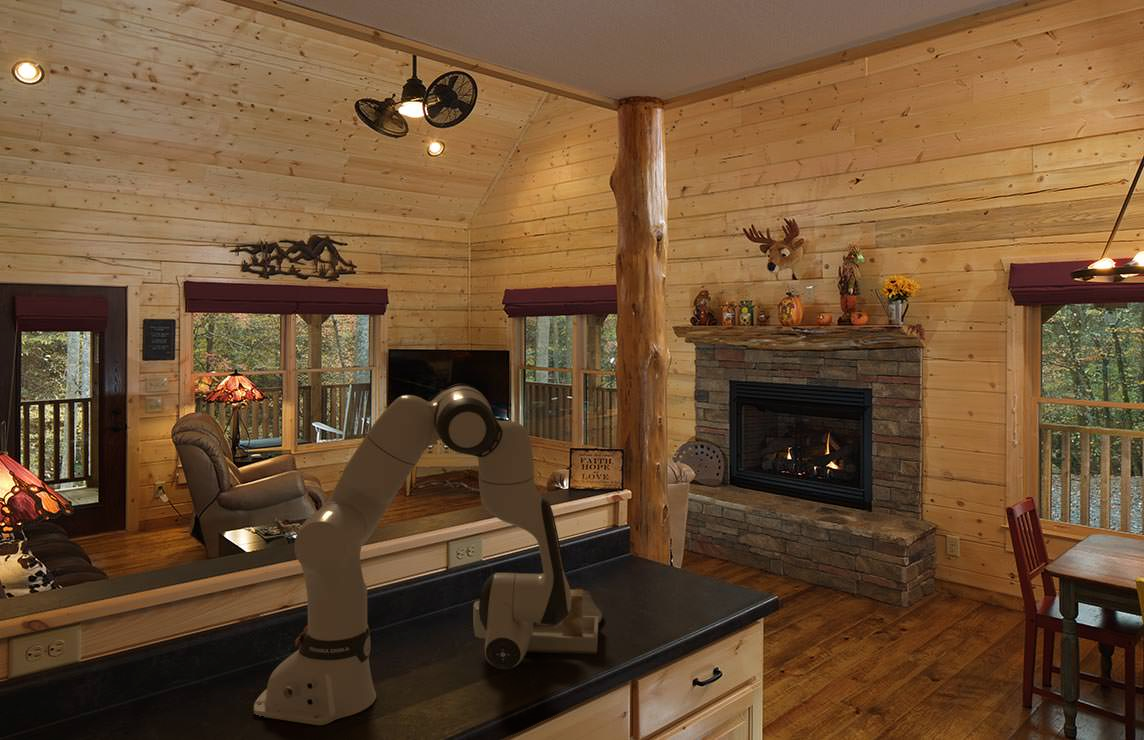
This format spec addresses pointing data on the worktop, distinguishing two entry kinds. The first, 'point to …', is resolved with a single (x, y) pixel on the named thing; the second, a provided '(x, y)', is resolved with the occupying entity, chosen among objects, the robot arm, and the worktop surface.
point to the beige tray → (566, 639)
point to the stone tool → (590, 606)
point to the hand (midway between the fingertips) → (521, 601)
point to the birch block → (574, 616)
